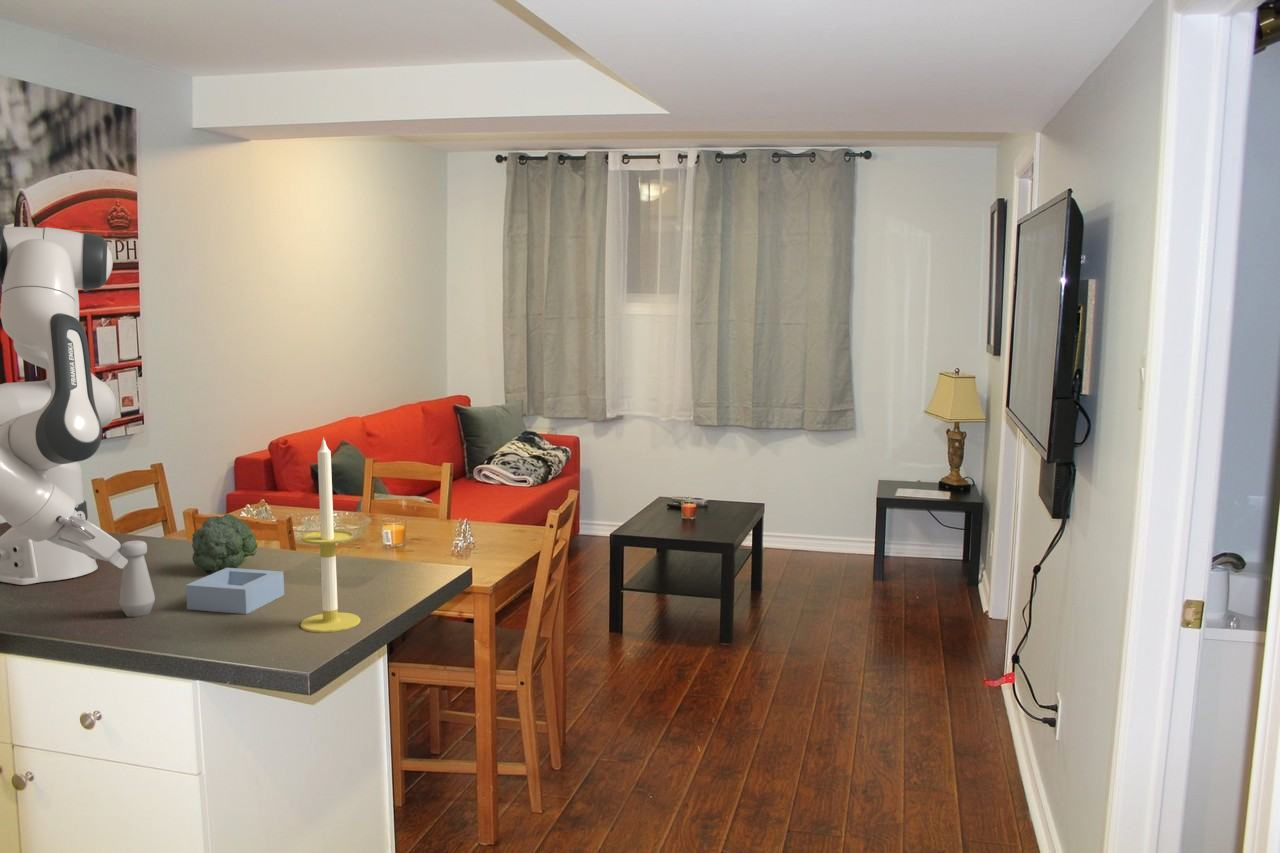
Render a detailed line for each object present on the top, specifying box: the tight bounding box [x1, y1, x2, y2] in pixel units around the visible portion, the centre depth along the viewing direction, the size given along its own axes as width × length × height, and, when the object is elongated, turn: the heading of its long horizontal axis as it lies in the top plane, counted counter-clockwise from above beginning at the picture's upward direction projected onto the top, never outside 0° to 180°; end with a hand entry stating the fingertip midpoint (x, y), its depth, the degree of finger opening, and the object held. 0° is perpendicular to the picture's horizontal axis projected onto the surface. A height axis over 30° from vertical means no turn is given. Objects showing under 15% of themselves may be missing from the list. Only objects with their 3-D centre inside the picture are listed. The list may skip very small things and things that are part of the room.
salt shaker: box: [118, 540, 156, 618], centre depth 182 cm, size 6×6×13 cm
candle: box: [300, 436, 361, 634], centre depth 175 cm, size 10×10×32 cm
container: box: [185, 567, 285, 615], centre depth 189 cm, size 12×12×4 cm
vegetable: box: [191, 513, 258, 574], centre depth 212 cm, size 12×13×15 cm
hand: (110, 560), depth 178 cm, fingers open, 8 cm apart
